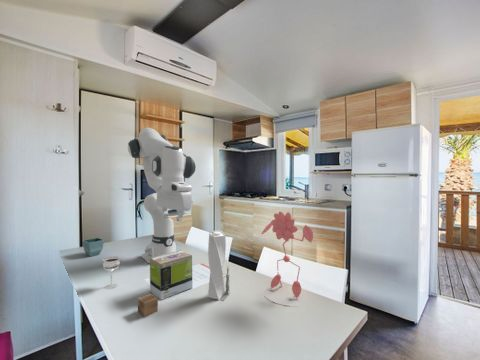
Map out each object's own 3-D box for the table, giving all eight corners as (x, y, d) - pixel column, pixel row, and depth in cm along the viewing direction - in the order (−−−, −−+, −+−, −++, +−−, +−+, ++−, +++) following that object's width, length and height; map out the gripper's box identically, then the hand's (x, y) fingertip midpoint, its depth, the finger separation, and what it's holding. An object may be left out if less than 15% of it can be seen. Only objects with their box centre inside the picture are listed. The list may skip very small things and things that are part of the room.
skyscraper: (222, 303, 94) (223, 232, 94) (203, 299, 97) (204, 230, 96) (230, 293, 102) (231, 227, 102) (213, 290, 105) (213, 225, 104)
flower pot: (97, 251, 153) (97, 237, 153) (104, 254, 148) (104, 239, 148) (82, 255, 146) (82, 240, 146) (88, 258, 141) (88, 242, 141)
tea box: (180, 281, 113) (181, 249, 112) (192, 288, 106) (193, 254, 105) (149, 291, 102) (149, 256, 102) (160, 300, 95) (160, 263, 95)
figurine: (268, 279, 116) (268, 206, 114) (319, 300, 98) (320, 213, 96) (246, 291, 105) (246, 210, 103) (298, 316, 87) (300, 219, 85)
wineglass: (113, 281, 111) (113, 255, 111) (123, 284, 108) (123, 258, 108) (99, 287, 105) (99, 260, 105) (109, 291, 102) (109, 263, 102)
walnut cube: (137, 312, 87) (137, 298, 87) (150, 306, 91) (150, 293, 91) (144, 317, 84) (144, 303, 84) (157, 311, 88) (157, 298, 88)
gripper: (152, 185, 103) (152, 217, 103) (180, 187, 90) (180, 224, 90) (165, 184, 108) (165, 215, 108) (194, 186, 94) (194, 221, 95)
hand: (172, 219), depth 99 cm, fingers open, 8 cm apart
